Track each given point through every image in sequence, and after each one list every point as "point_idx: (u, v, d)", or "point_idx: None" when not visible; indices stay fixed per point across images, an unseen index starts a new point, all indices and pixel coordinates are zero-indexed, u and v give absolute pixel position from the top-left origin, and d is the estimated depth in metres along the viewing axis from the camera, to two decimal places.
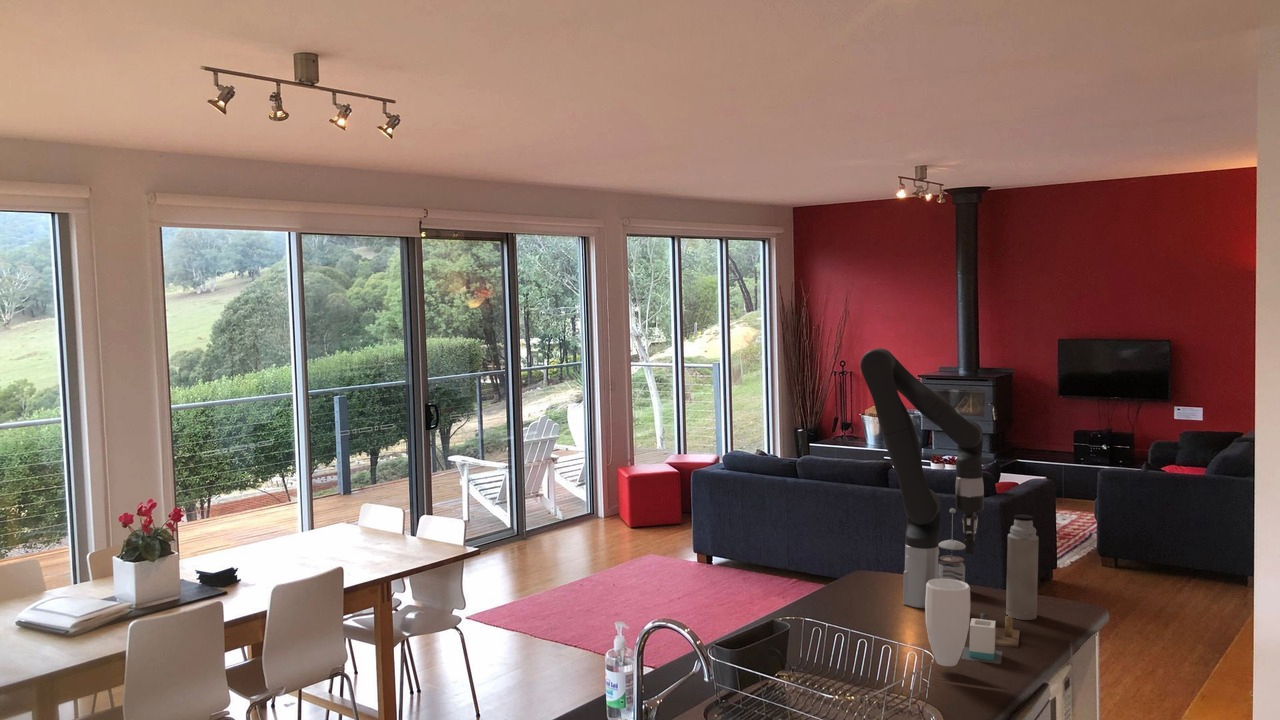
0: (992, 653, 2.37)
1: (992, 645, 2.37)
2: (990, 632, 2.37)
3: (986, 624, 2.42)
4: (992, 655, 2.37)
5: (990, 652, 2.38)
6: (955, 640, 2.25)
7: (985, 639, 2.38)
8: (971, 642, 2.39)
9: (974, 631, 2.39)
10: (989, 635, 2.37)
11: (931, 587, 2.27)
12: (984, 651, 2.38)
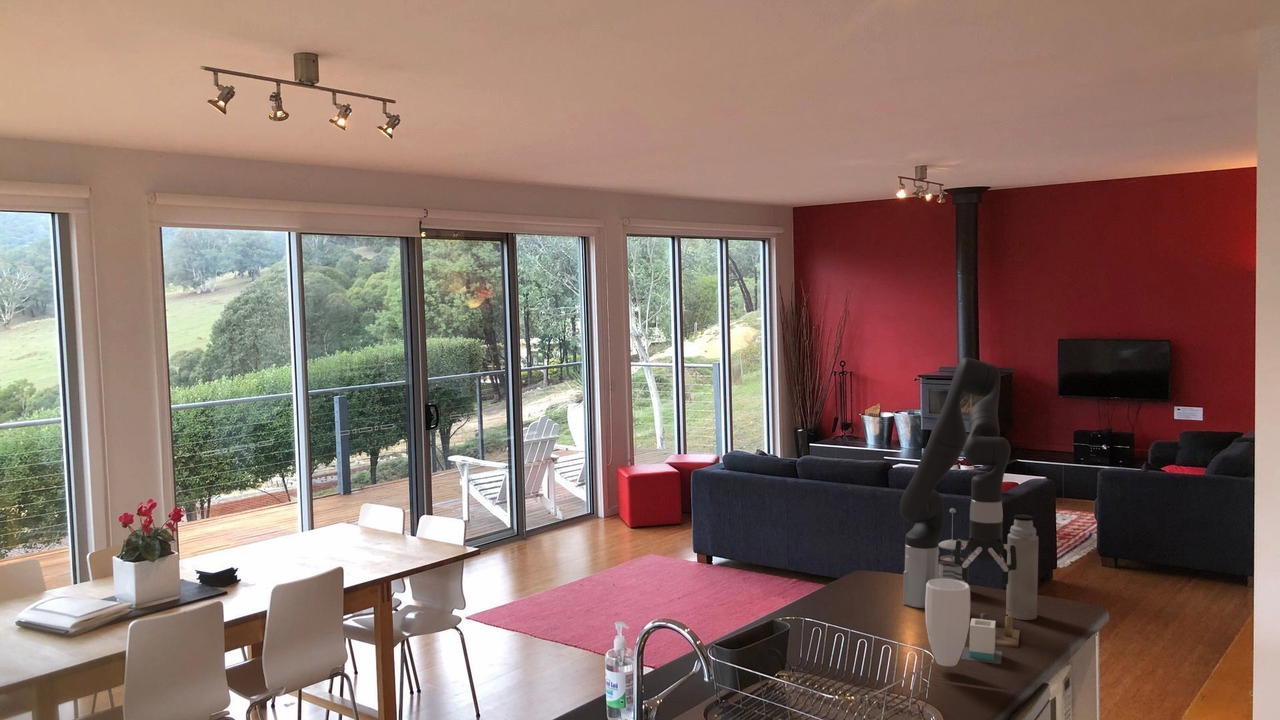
0: (992, 653, 2.37)
1: (992, 645, 2.37)
2: (990, 632, 2.37)
3: (986, 624, 2.42)
4: (992, 655, 2.37)
5: (990, 652, 2.38)
6: (955, 640, 2.25)
7: (985, 639, 2.38)
8: (971, 642, 2.39)
9: (974, 631, 2.39)
10: (989, 635, 2.37)
11: (931, 587, 2.27)
12: (984, 651, 2.38)
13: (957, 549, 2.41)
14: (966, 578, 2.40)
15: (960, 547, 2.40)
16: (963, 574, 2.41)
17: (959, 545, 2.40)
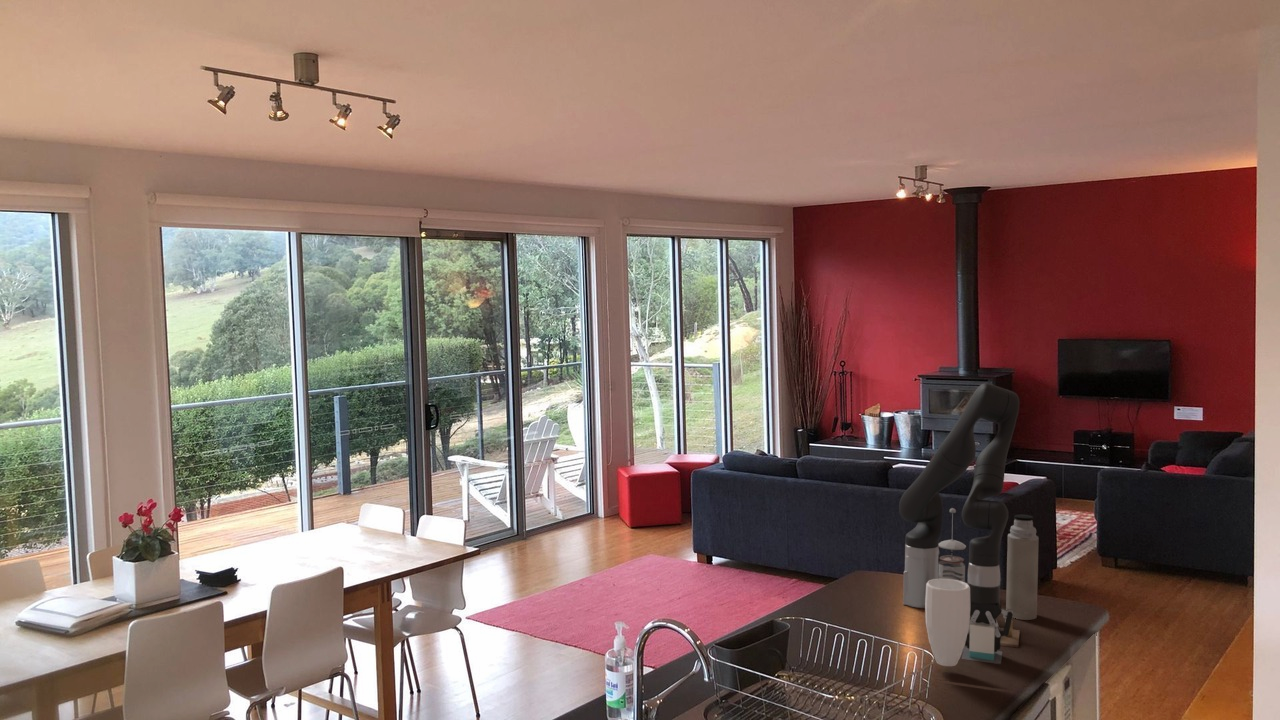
0: (992, 653, 2.37)
1: (992, 645, 2.37)
2: (990, 632, 2.37)
3: (986, 624, 2.42)
4: (992, 655, 2.37)
5: (990, 652, 2.38)
6: (955, 640, 2.25)
7: (985, 639, 2.38)
8: (971, 642, 2.39)
9: (974, 631, 2.39)
10: (989, 635, 2.37)
11: (931, 587, 2.27)
12: (984, 651, 2.38)
13: None
14: (968, 644, 2.41)
15: None
16: None
17: None
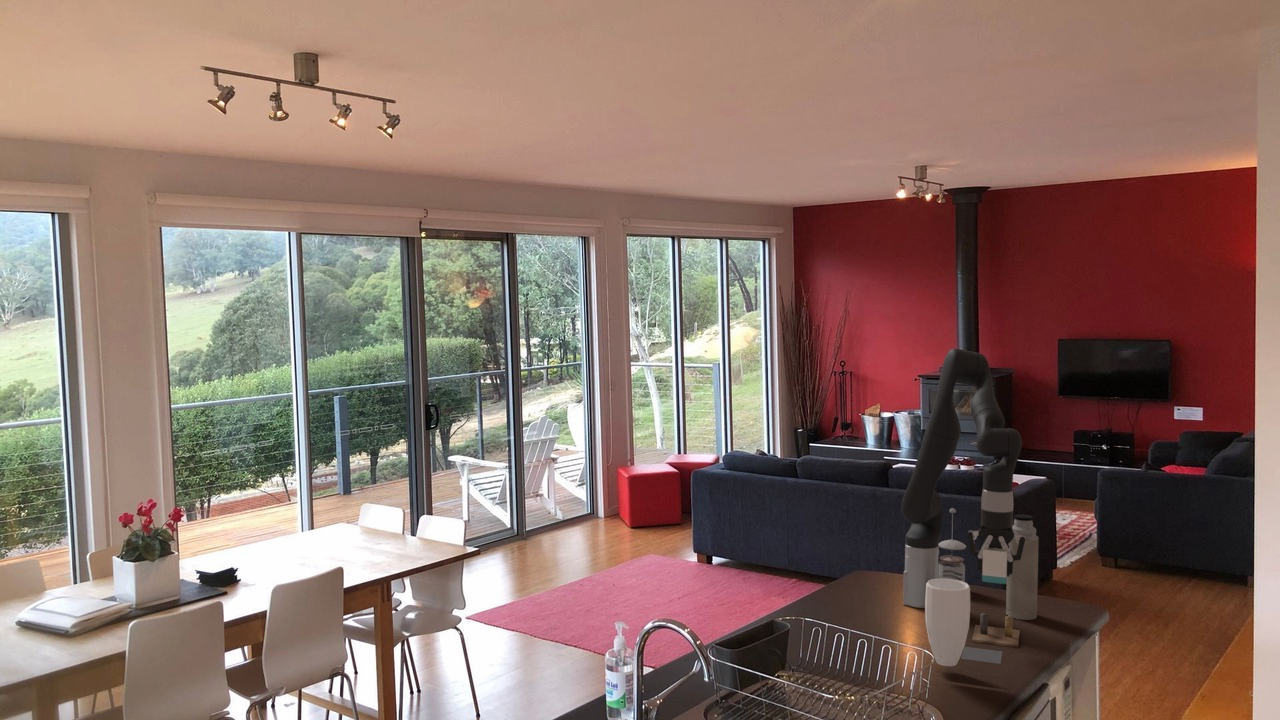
0: (1004, 577, 2.43)
1: (1005, 569, 2.43)
2: (1003, 556, 2.43)
3: (999, 550, 2.48)
4: (1004, 579, 2.43)
5: (1003, 576, 2.43)
6: (955, 640, 2.25)
7: (998, 563, 2.44)
8: (984, 566, 2.45)
9: (987, 556, 2.45)
10: (1002, 559, 2.43)
11: (931, 587, 2.27)
12: (997, 575, 2.44)
13: (970, 540, 2.48)
14: (981, 569, 2.47)
15: (972, 538, 2.47)
16: (979, 565, 2.48)
17: (971, 536, 2.47)
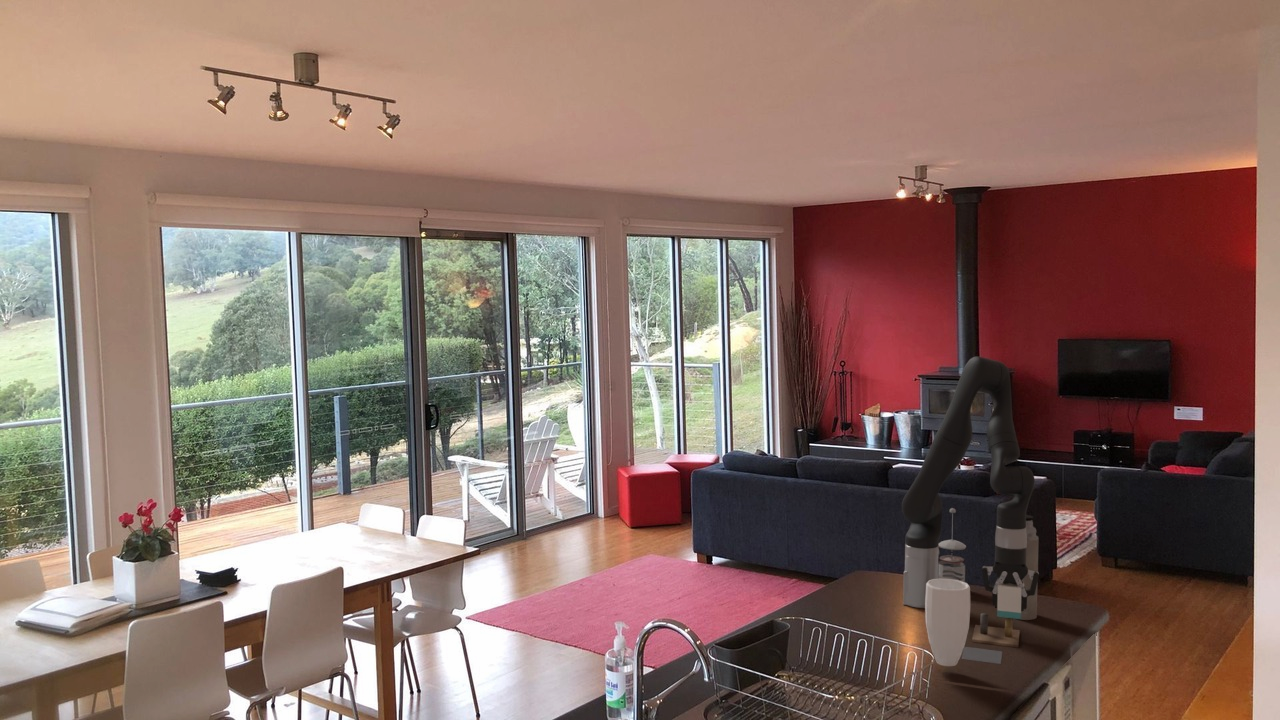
0: (1019, 612, 2.49)
1: (1019, 604, 2.49)
2: (1017, 592, 2.49)
3: (1013, 585, 2.53)
4: (1019, 614, 2.49)
5: (1017, 611, 2.49)
6: (955, 640, 2.25)
7: (1012, 599, 2.49)
8: (999, 601, 2.50)
9: (1002, 591, 2.50)
10: (1016, 595, 2.49)
11: (931, 587, 2.27)
12: (1012, 610, 2.49)
13: (984, 576, 2.53)
14: (996, 604, 2.52)
15: (987, 573, 2.53)
16: (993, 600, 2.53)
17: (985, 572, 2.53)
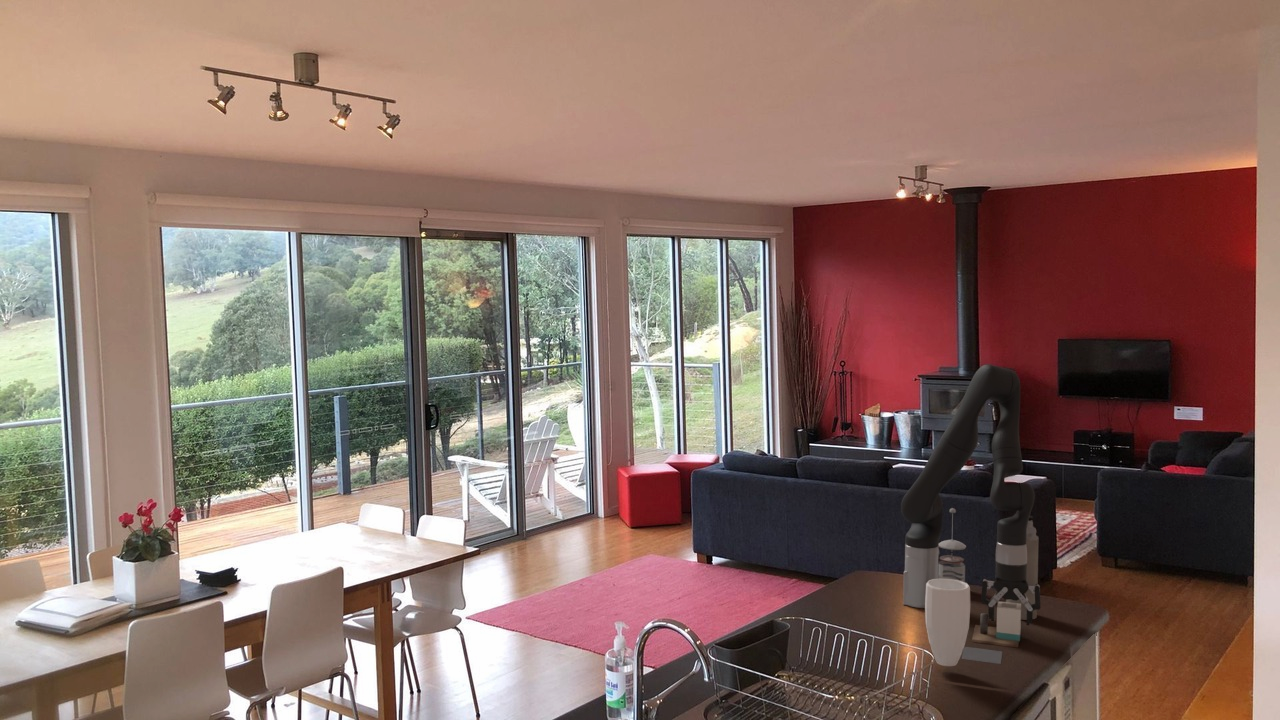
0: (1018, 634, 2.49)
1: (1018, 626, 2.49)
2: (1016, 614, 2.49)
3: (1012, 607, 2.54)
4: (1018, 636, 2.49)
5: (1016, 633, 2.49)
6: (955, 640, 2.25)
7: (1012, 621, 2.49)
8: (998, 623, 2.51)
9: (1001, 613, 2.50)
10: (1015, 617, 2.49)
11: (931, 587, 2.27)
12: (1011, 632, 2.50)
13: (983, 589, 2.53)
14: (992, 617, 2.53)
15: (986, 587, 2.53)
16: (989, 613, 2.53)
17: (985, 585, 2.53)
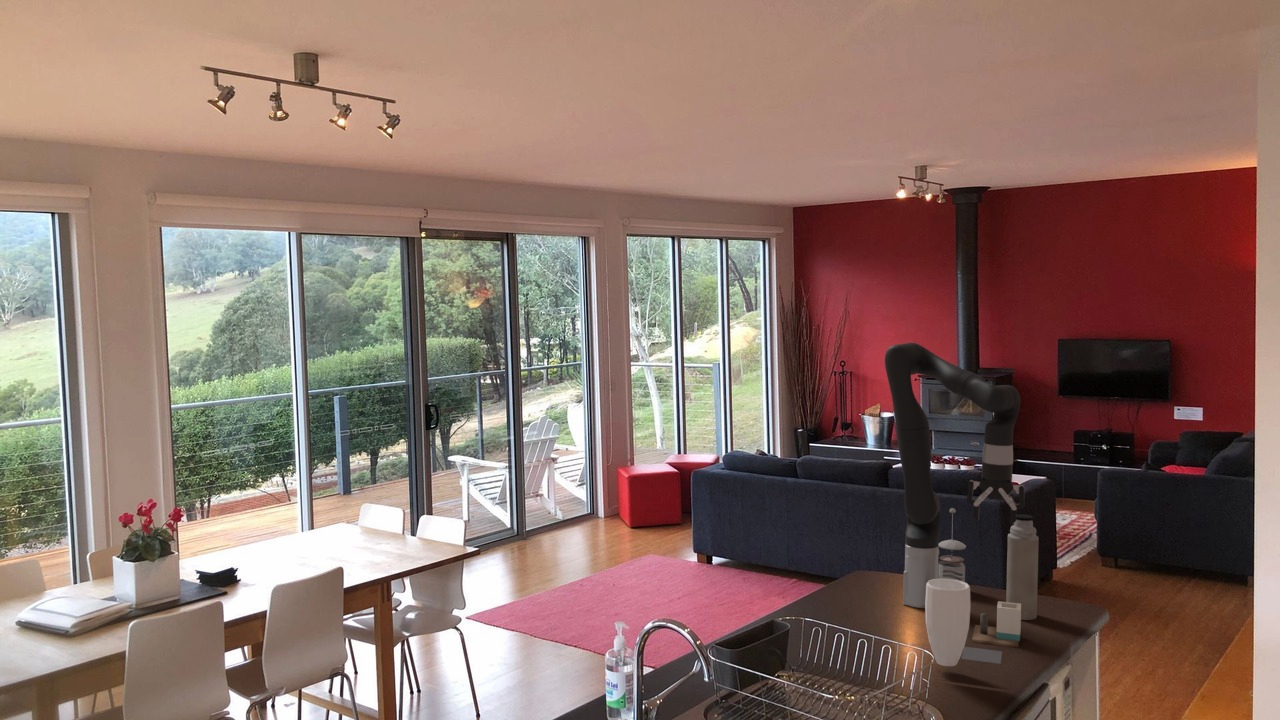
0: (1018, 634, 2.49)
1: (1018, 626, 2.49)
2: (1016, 614, 2.49)
3: (1012, 607, 2.54)
4: (1018, 636, 2.49)
5: (1016, 633, 2.49)
6: (955, 640, 2.25)
7: (1012, 621, 2.49)
8: (998, 623, 2.51)
9: (1001, 613, 2.50)
10: (1015, 617, 2.49)
11: (931, 587, 2.27)
12: (1011, 632, 2.50)
13: (969, 489, 2.60)
14: (977, 516, 2.60)
15: (972, 487, 2.60)
16: (974, 512, 2.61)
17: (971, 485, 2.60)
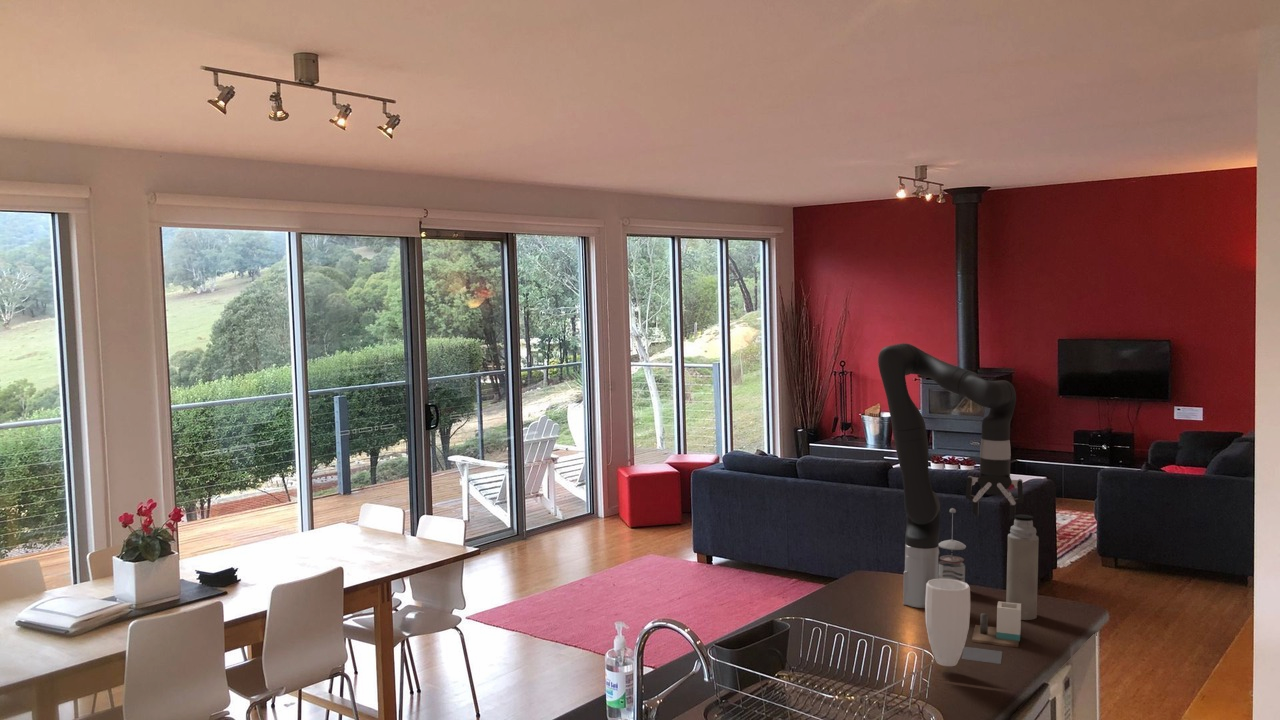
0: (1018, 634, 2.49)
1: (1018, 626, 2.49)
2: (1016, 614, 2.49)
3: (1012, 607, 2.54)
4: (1018, 636, 2.49)
5: (1016, 633, 2.49)
6: (955, 640, 2.25)
7: (1012, 621, 2.49)
8: (998, 623, 2.51)
9: (1001, 613, 2.50)
10: (1015, 617, 2.49)
11: (931, 587, 2.27)
12: (1011, 632, 2.50)
13: (968, 485, 2.61)
14: (976, 512, 2.61)
15: (971, 483, 2.60)
16: (974, 508, 2.61)
17: (970, 481, 2.61)
